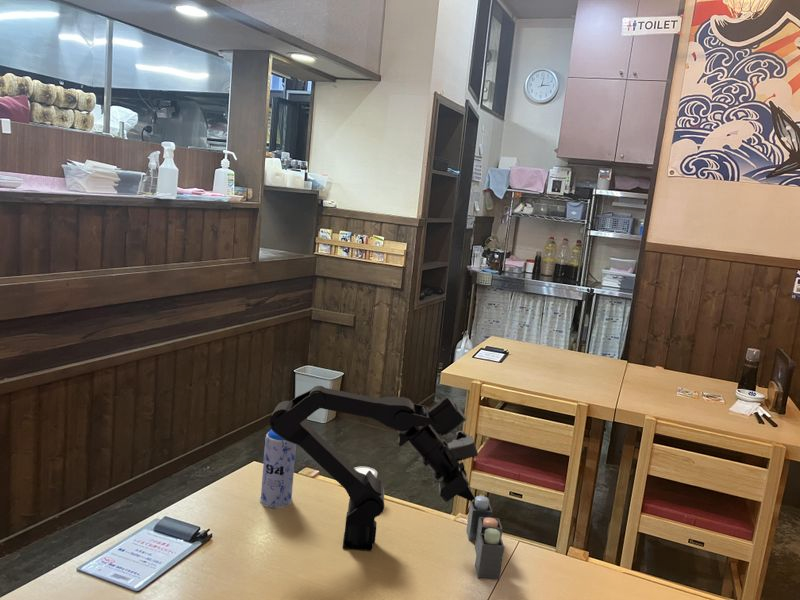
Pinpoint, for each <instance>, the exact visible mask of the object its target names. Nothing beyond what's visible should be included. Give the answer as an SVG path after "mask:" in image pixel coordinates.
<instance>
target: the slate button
mask: <svg viewBox="0 0 800 600" xmlns="http://www.w3.org/2000/svg"><path fill="white" fill-rule="evenodd" d="M474 501H475V505H474V509H475V510H486V511H488V505H489V503H490V499H489V498H488V497H486V496H484V495H477V496H475V499H474Z"/></svg>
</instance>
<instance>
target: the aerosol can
mask: <svg viewBox="0 0 800 600" xmlns="http://www.w3.org/2000/svg"><path fill="white" fill-rule="evenodd" d="M264 439H265V440H264V442H265V443H264V450H263V451H264V453H263V462H262V464H263V465H262V477H261V478H262V479H261V488H260V489H261V490H260V498H259V502H260V504H261V505H262V506H264V507H265V508H270V509H283V508H286V507H289V506H290V505H291V504H292V502H293V498H292V497H293V488H294V487H293V485H294V472H295V462H296V450H297V444H294V443H291V442H289V441H286V440H285V439H283V438H282V437H280V436H279V435H277V434H276V433H274V432H273V431H272V429H271V428H270V430H269V431H268V432H267V433H266V434H265V438H264Z"/></svg>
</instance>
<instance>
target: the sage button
mask: <svg viewBox="0 0 800 600" xmlns="http://www.w3.org/2000/svg"><path fill="white" fill-rule="evenodd" d="M499 539H500V532H499V531H498V530H496V529H493V528H488V529H486V530H485V535H484V543H485V544H489V545H499Z"/></svg>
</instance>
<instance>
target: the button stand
mask: <svg viewBox="0 0 800 600" xmlns="http://www.w3.org/2000/svg"><path fill="white" fill-rule="evenodd" d="M474 505H475V500H473V501H469V507H468V508H469V509H468V515H467V524H466V531H465V532H466V535H467V539H468V541H469V542H474V550H475V555H476V556H475V563H474V569H475V572H476V577H477V579H480V580H481V579H482V580H493V581H494V580H495V581H500V579H501V572H502V564H503V559H504V553H505V545H504V544H505V543H504V542H503V539H502V536H503V535H502V534H503V526H502V523H501V520H500V518H497V517H493V509H492V507H491V504H490V502H489V505H488V511H486V510H475V509H474ZM484 518H494V519H496V520H497V521H498V526H497V527H487V526H483V521H484ZM488 528H493V529H496V530H498V531H499V532H500V539H499V545H489V544H485V543H484V535H485V530H486V529H488Z"/></svg>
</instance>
